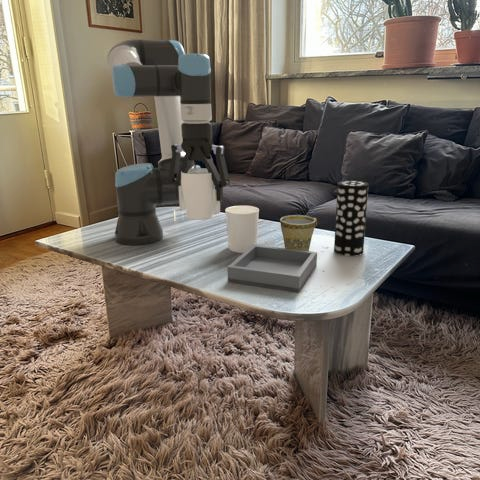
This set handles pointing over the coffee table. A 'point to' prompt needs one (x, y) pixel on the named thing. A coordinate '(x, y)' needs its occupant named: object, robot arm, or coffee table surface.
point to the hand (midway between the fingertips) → (199, 211)
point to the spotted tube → (350, 217)
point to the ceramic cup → (297, 231)
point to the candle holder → (241, 227)
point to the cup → (198, 193)
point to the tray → (273, 268)
